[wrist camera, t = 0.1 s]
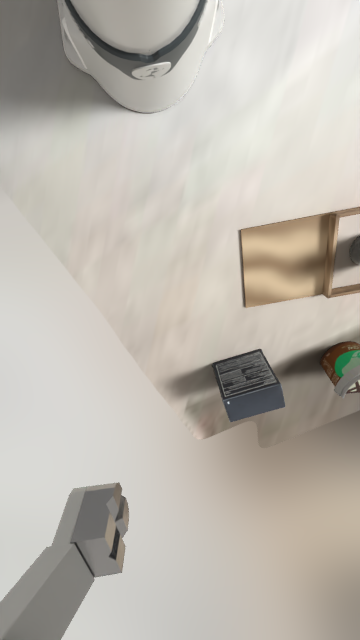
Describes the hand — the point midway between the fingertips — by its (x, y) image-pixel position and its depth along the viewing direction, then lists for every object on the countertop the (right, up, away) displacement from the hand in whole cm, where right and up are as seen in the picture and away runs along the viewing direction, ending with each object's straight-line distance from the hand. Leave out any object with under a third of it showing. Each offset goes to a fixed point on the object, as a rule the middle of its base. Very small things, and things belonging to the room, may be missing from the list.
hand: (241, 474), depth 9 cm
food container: (+32, -1, +47) cm, 57 cm away
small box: (+10, -5, +48) cm, 49 cm away
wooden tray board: (+23, +16, +37) cm, 46 cm away
